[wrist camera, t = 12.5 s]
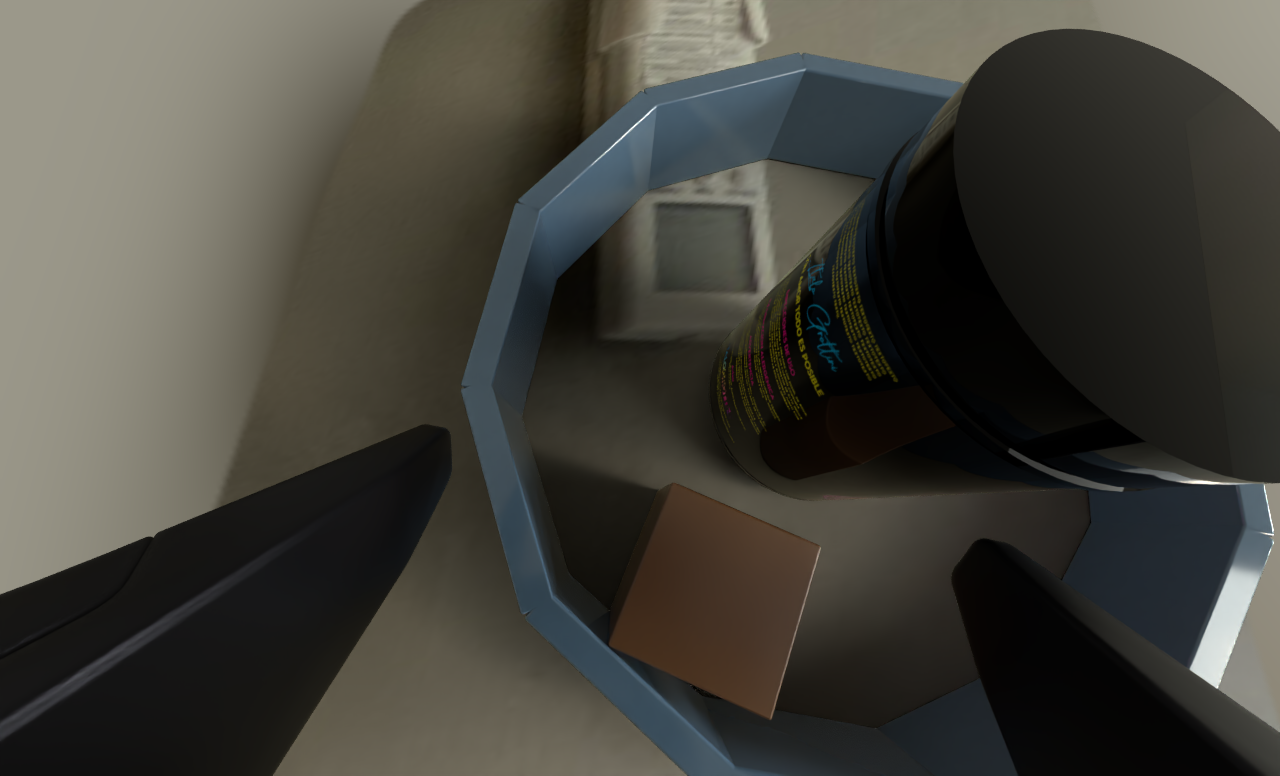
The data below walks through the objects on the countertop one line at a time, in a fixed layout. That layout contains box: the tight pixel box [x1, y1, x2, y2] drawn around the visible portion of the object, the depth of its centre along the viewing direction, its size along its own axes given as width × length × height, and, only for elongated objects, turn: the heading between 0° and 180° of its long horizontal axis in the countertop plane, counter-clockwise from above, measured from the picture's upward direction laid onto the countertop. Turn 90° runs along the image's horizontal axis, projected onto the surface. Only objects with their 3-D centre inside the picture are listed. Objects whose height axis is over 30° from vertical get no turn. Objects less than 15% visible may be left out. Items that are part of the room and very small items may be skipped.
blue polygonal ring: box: [461, 53, 1274, 776], centre depth 14 cm, size 22×22×4 cm
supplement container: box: [709, 29, 1280, 501], centre depth 11 cm, size 7×7×10 cm
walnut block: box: [608, 483, 821, 720], centre depth 13 cm, size 4×4×4 cm
